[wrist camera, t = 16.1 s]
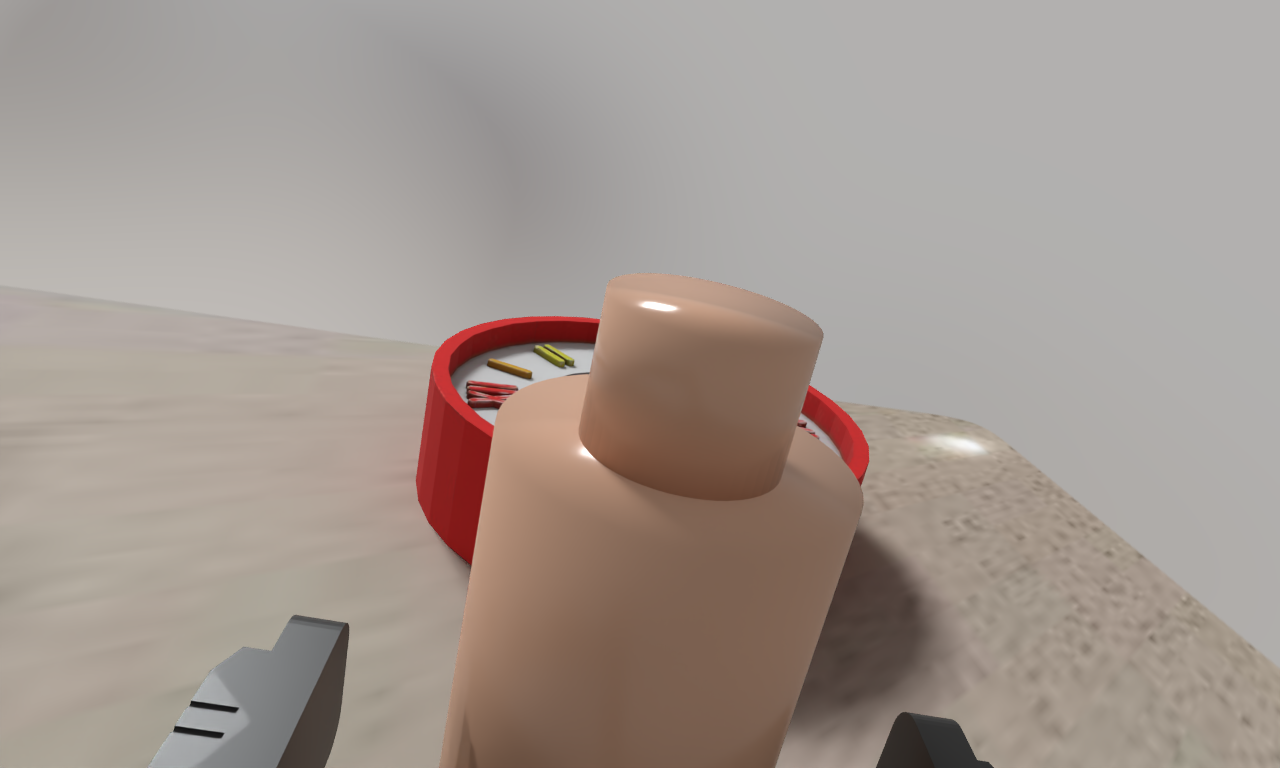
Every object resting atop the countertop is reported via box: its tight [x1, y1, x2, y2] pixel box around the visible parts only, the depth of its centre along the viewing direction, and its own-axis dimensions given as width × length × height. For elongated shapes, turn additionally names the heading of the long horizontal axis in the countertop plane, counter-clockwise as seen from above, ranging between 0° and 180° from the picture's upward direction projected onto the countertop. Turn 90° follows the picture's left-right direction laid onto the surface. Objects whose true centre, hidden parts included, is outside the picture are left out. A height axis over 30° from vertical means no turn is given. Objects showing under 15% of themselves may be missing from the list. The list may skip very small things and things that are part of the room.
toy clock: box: [416, 316, 869, 566], centre depth 41 cm, size 20×6×20 cm
